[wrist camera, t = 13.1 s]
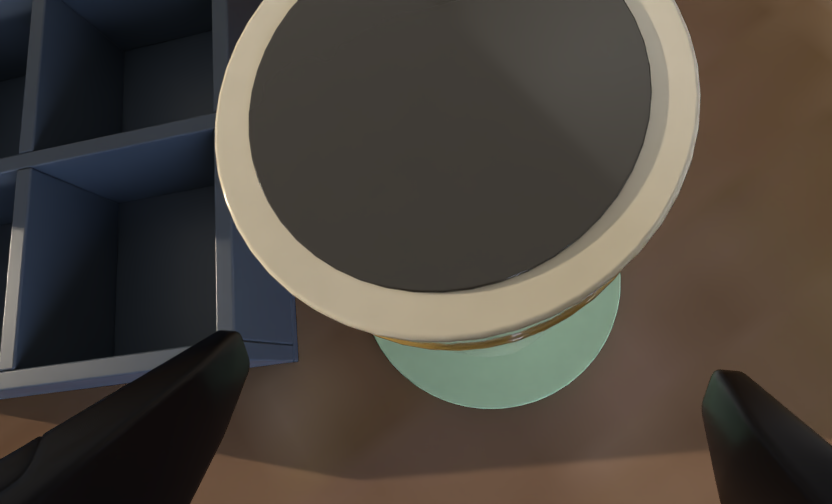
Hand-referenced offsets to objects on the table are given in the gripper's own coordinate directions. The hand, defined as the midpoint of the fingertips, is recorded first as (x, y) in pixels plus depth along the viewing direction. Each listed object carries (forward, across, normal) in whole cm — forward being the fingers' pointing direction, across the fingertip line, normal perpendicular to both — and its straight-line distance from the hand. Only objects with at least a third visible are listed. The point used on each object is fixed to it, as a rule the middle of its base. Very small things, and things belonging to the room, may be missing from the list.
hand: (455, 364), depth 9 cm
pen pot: (+7, 0, +3) cm, 8 cm away
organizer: (+10, +16, +2) cm, 18 cm away
